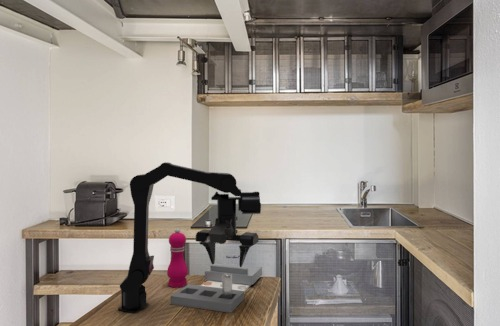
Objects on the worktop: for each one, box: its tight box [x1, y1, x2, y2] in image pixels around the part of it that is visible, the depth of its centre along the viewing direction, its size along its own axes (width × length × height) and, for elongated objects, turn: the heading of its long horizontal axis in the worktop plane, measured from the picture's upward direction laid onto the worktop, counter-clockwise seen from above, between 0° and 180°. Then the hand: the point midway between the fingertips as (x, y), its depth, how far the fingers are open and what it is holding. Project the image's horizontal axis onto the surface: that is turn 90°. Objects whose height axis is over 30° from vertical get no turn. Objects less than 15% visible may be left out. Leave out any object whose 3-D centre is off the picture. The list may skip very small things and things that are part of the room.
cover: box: [204, 262, 263, 286], centre depth 132 cm, size 18×11×5 cm, turn 71°
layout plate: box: [200, 280, 252, 293], centre depth 124 cm, size 16×9×1 cm, turn 71°
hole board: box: [170, 283, 245, 314], centre depth 112 cm, size 20×11×2 cm, turn 71°
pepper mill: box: [166, 227, 189, 288], centre depth 127 cm, size 7×7×20 cm
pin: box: [222, 273, 232, 299], centre depth 110 cm, size 3×3×9 cm
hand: (226, 265), depth 110 cm, fingers open, 9 cm apart
